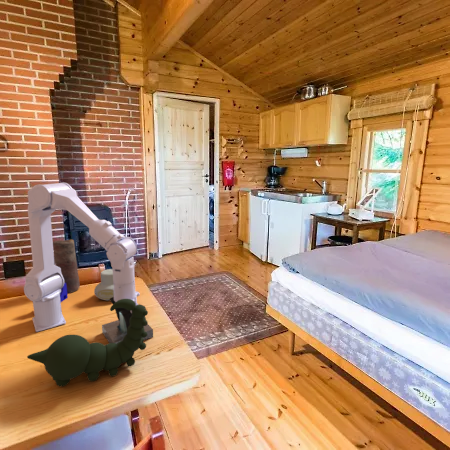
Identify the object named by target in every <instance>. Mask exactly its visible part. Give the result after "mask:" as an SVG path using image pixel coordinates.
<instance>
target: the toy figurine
mask: <svg viewBox="0 0 450 450" xmlns="http://www.w3.org/2000/svg"><path fill="white" fill-rule="evenodd" d="M116 308H125V309H126V310H130V311H131V310H132V316H131V317H130V320H129V323H130V325H129V327H128V328H127V334H126V335H125V337H124V338H123V341H120V342H118V343H117V344H116V343H109V342H108V343H107V344H104V343H101V342H96V341H94V342H91V343H90V342H89V341H88V340H87V339H86V338H85V337H84V336H82V335H79V334H66V335H63V336H60V337H58V338H57V339H55V340H54V341H52V343H51V344H50V345H49V347H48V348H46V349H44V350H43V349H42V350H40V351H36V352H34V353H31V354H28V355H27V356H26V357H27V359H29V360H32V361H35V362H37V363H41V364H42V365H44V369H45V370H46V372H47V374H48V375H49V376H50V377H51V378H52V380H53V381H54V382H55V385H57V386H58V388H59V387H60V388H61V387H62V388H63V387H65V386H67V385H68V384H69V383H70V382H71V380H73V379H75V378H77V377H79V376H80V375H82V374H86V376H87V380H88V381H89V382H95V381H97V380H98V378H99V377H100V372H101V371H106V372H108V375H109V376H110V377H115V376H117V375H118V372H119V369H118V368H119V367H121V365H122V364H126V366H127V367H133V366H134V365H135V363H136V360H135V357H134V354H135V352H137V351H138V350H140V351H144V350H145V349H146V348H147V344H146V343H145V342H144V341H145V340H144V339H143V338H145V337H146V336H147V333H146V331H145V329H144V326H146V325H147V324H148V325H149V322H148V320H147V318H146V316H147V315H148V313H149V311H148V310H147V308H146V306H145V305H143V304H141V303H138V305H136V304H135V302H134V301H133V300H131V299H121V300H118V301H117V302H115V303H114V304H112V305H111V307H110V309H109V311H111V312H113V311H115V309H116ZM142 337H143V338H142Z"/></svg>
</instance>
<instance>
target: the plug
mask: <svg viewBox="0 0 450 450" xmlns="http://www.w3.org/2000/svg"><path fill="white" fill-rule="evenodd" d="M119 315H120V329H121V333H125V332H127V328H126V323H125V319H124V317H123V315H122V314H121V312H119Z"/></svg>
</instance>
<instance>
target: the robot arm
mask: <svg viewBox="0 0 450 450" xmlns="http://www.w3.org/2000/svg"><path fill="white" fill-rule="evenodd" d="M27 199H28V204H27V216H28V218H27V219H28V228H29V236H30V237H29V239H30V246H31V247H30V248H31V259H32V268H31V269H30V270H29V271H28V273H27V274H26V275H25V277H24V278H25V282H24V285H23V292H24V295H25V296H26V298H27V299H28V300H29V301H31V302H32V307H33V308H32V309H33V314H34V317H32V323H33V325H34V326H33V327H34V330H35V332H36V333H38V332H41V331H45V330H49V329H51V328H55V327H58V326H62V325H66V323H67V321H66V319H65V317H64V315H63V313H62V311H63V310H62V304H61V303H62V302H60V292H61V288H62V287H63V286H64V278H63V276H62V273H61V268H60V267H58V266H56V264H55V257H54V250H53V242H54V241H53V227H52V216H51V214H53V213H54V212H55V211H56V210H63V211H67V212H69V213H70V214H71V215H72V216H74V217H75V218H76V219H77V220H78V221H80V223H82V224H83V225H85V226H86V227H87V228H88V235H89V236H91V238H92V239H94V241H96V243H98V244H99V245H100V246H101V247H102V248H104V250H105V251H106V257H107V259H108V260H109V261H110V265H111V267H112V268H111V269H113V283H114V288H113V290H114V297H112V298H110V301H109V302H110V303H111V304H112V305H113V304H114V303H115V302H117V301H118V300H121V299H131V300H133V301H134V302H135V304H136V305H139V303H138V298H137V297H139V296H140V294H141V293H140V292H139V291H137V290H136V278H135V259H134V256H135V255H136V254H137V252H138V245H137V243H136V241H135V240H134V239H133V237H130V236H125V235H124V234H122V233H121V232H119V231H118V230H117V228H115V227H114V226H113V223H111V221H110V220H108V221H107V220H106V219H99V218H98V217H97V215H95V214H94V213H93V212H92V211H91V209H89V207H88V206H87V205H86V204H85V203H84V202H83V201H82V199H80V198H79V197H78V193H77V191H76V189H74V188H72V186H71V185H70V184H69V183H67V182H58V183H57V182H56V183H45V184H42V183H41V184H40V183H39V184H35V185H34V186H32V187H31V188H30V189H29V190H28V191H27ZM114 311H115V314H116V316H117V317H116V318H117V320H119V321H120V315H119V312H121V314H122V315H123V317H124V319H125V323H126V328H128V327H129V325H130V323H129V320H130V317H131V316H132V310H131V311H130V310H126V309H125V308H116V309H114Z"/></svg>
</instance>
